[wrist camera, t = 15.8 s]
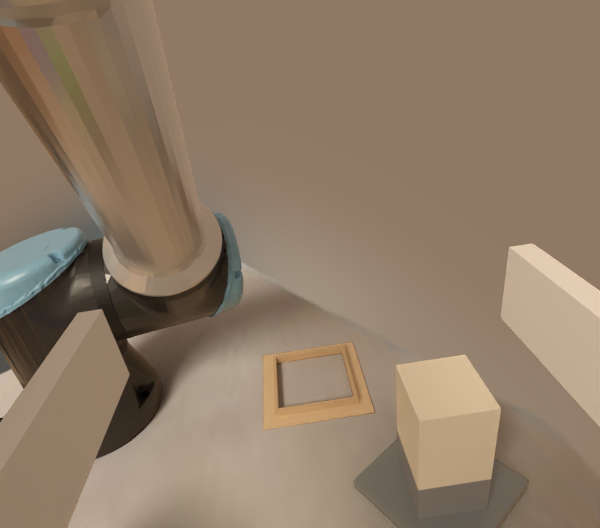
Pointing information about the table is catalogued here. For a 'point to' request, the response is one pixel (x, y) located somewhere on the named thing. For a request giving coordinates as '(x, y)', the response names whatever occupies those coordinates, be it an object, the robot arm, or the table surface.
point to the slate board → (474, 524)
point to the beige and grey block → (445, 435)
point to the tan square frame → (317, 410)
